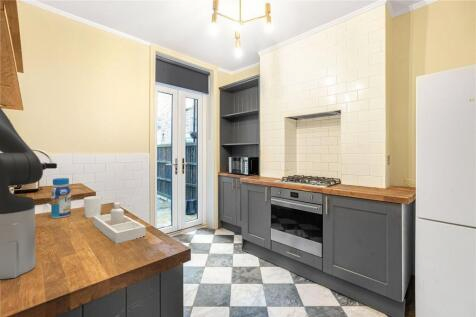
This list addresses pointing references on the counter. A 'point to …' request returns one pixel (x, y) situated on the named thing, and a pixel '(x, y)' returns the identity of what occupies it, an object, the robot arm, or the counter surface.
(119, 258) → the counter surface
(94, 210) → the white cup
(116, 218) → the eye dropper bottle
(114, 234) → the rack
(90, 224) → the counter surface
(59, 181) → the beverage bottle
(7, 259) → the robot arm
